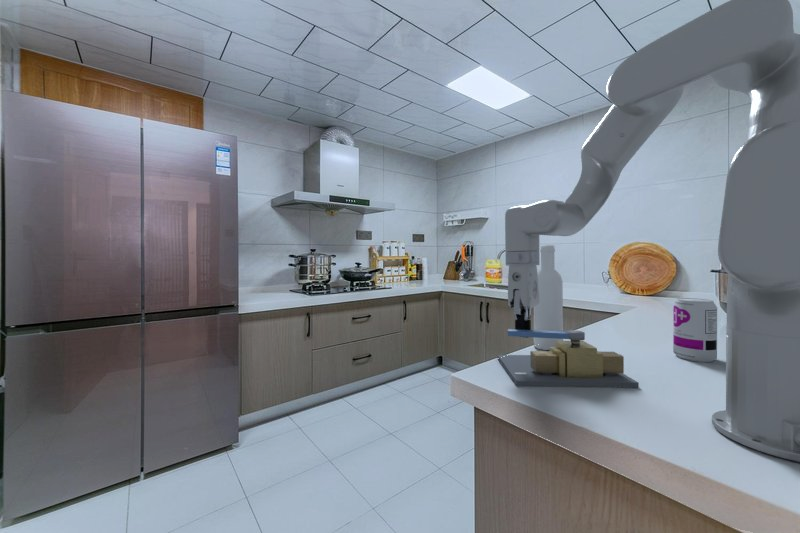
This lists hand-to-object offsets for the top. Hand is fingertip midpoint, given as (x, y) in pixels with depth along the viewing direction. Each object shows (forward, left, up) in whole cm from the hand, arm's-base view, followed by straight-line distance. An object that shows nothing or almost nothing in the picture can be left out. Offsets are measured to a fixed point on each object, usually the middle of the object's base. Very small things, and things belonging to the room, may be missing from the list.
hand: (523, 336), depth 76 cm
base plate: (-1, -8, -8) cm, 11 cm away
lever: (-4, -4, +1) cm, 5 cm away
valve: (-5, -10, -8) cm, 13 cm away
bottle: (+19, -13, -8) cm, 24 cm away
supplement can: (+10, -46, -8) cm, 47 cm away
